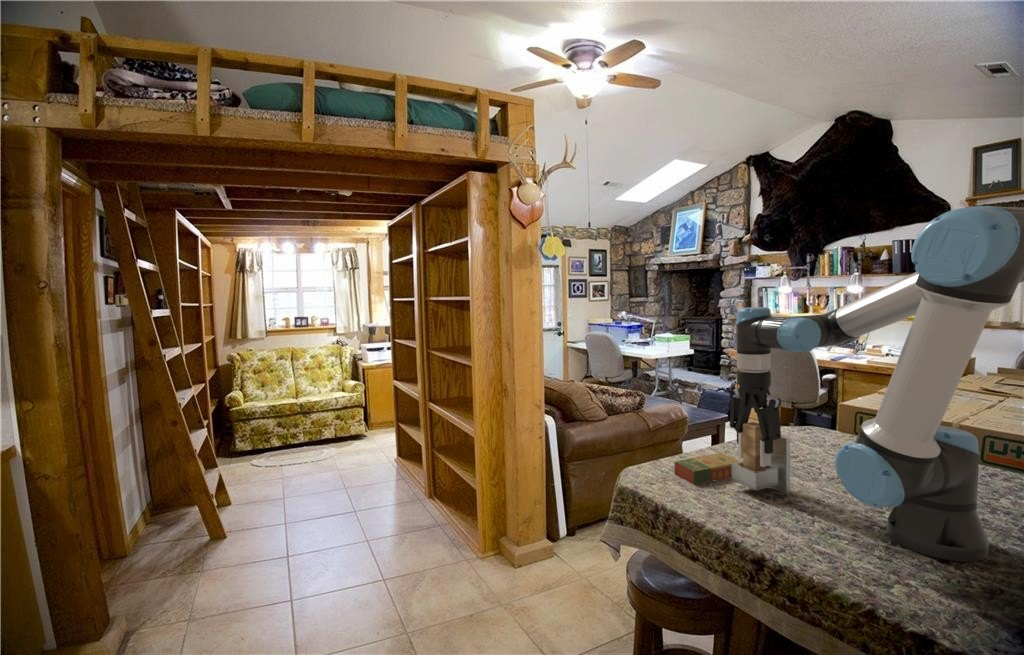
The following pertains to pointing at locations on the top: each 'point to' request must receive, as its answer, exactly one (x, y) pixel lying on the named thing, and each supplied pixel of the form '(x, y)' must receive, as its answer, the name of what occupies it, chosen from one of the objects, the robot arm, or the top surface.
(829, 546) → the top surface
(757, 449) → the block
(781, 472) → the bracket
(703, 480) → the carton
